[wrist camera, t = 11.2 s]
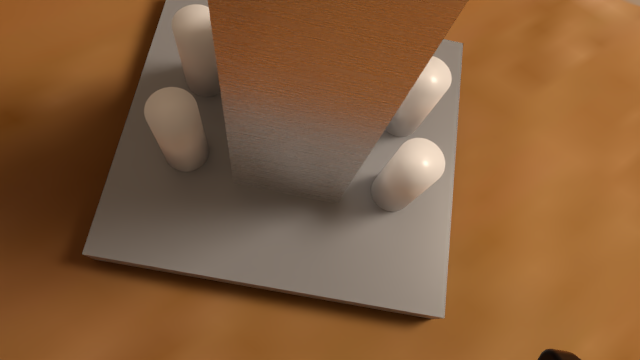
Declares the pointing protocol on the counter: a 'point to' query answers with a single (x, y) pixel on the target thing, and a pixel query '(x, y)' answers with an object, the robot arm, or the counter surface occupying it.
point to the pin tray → (275, 207)
